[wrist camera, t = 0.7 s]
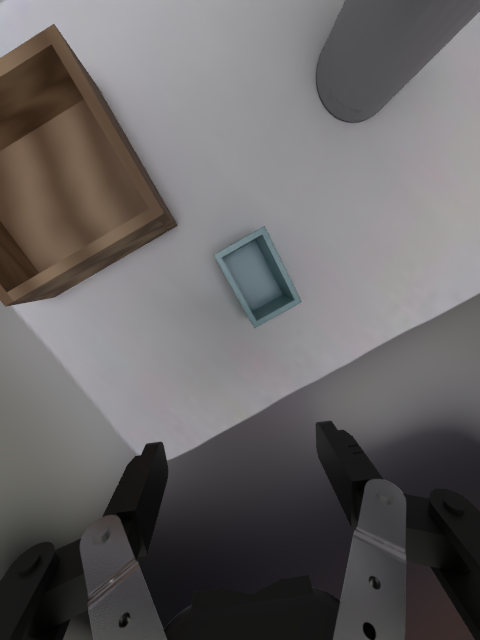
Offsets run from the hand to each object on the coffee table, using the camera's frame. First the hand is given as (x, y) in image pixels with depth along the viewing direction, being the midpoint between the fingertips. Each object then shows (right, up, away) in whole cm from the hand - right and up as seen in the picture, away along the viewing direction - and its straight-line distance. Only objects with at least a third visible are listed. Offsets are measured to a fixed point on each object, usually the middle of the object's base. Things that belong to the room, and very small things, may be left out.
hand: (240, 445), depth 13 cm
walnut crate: (-19, +20, +16) cm, 32 cm away
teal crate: (+2, +12, +19) cm, 23 cm away
